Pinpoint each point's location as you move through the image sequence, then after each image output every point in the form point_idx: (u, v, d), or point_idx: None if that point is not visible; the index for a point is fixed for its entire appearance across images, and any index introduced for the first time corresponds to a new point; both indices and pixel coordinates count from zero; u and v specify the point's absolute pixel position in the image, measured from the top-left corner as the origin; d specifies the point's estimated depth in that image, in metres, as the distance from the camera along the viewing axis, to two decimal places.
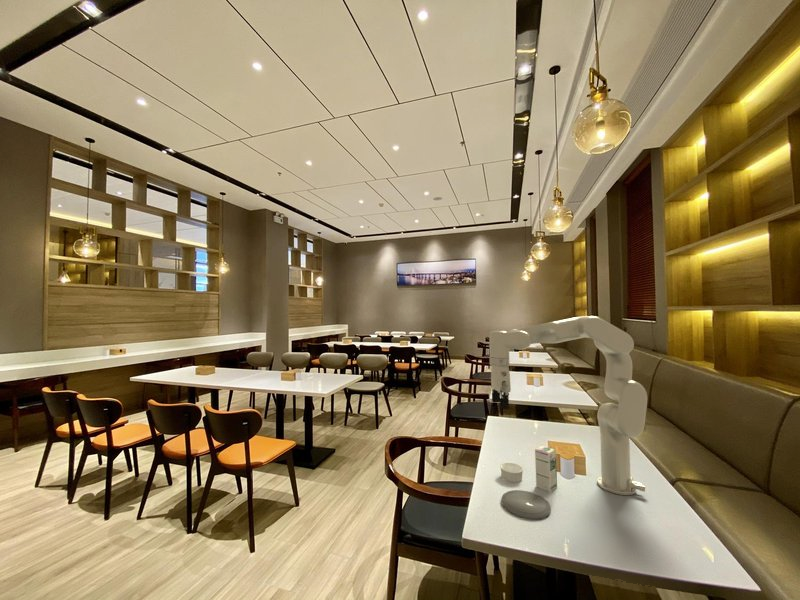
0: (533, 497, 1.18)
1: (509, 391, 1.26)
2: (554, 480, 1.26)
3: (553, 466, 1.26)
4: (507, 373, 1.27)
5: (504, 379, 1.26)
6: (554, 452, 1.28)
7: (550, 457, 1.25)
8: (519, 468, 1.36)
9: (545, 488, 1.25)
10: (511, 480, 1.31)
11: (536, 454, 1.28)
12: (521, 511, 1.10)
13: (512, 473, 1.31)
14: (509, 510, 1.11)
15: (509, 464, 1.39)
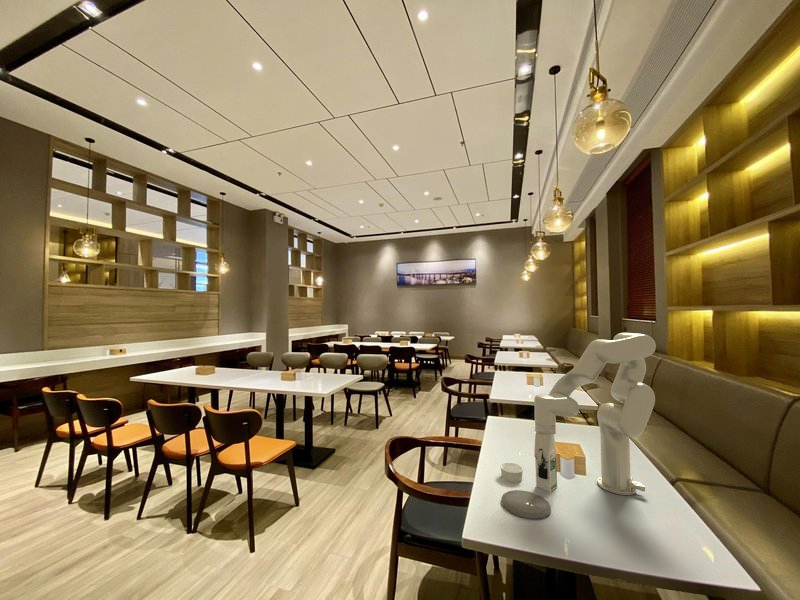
0: (533, 497, 1.18)
1: None
2: (554, 480, 1.26)
3: (553, 466, 1.26)
4: None
5: None
6: (554, 452, 1.28)
7: (550, 457, 1.25)
8: (519, 468, 1.36)
9: (545, 488, 1.25)
10: (511, 480, 1.31)
11: None
12: (521, 511, 1.10)
13: (512, 473, 1.31)
14: (509, 510, 1.11)
15: (509, 464, 1.39)
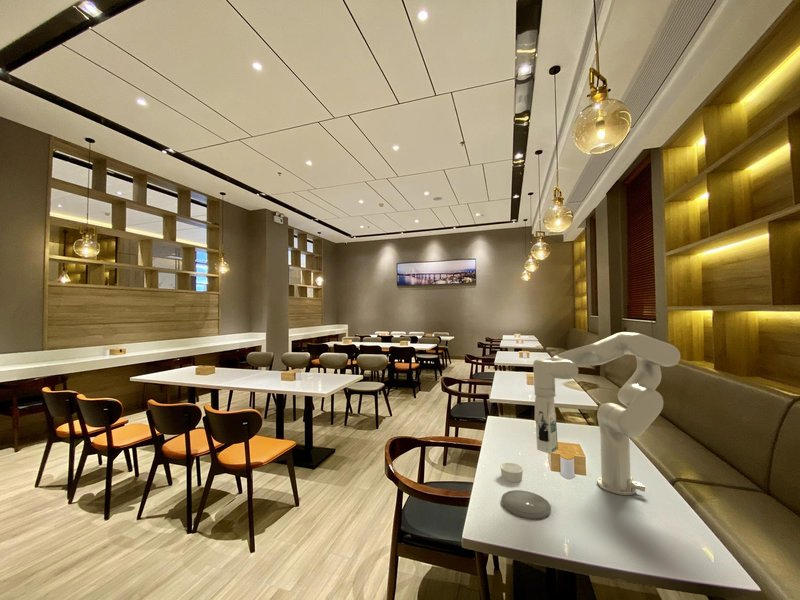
0: (533, 497, 1.18)
1: None
2: (554, 443, 1.27)
3: (554, 428, 1.27)
4: None
5: None
6: (554, 415, 1.28)
7: (550, 419, 1.26)
8: (519, 468, 1.36)
9: (546, 450, 1.26)
10: (511, 480, 1.31)
11: None
12: (521, 511, 1.10)
13: (512, 473, 1.31)
14: (509, 510, 1.11)
15: (509, 464, 1.39)
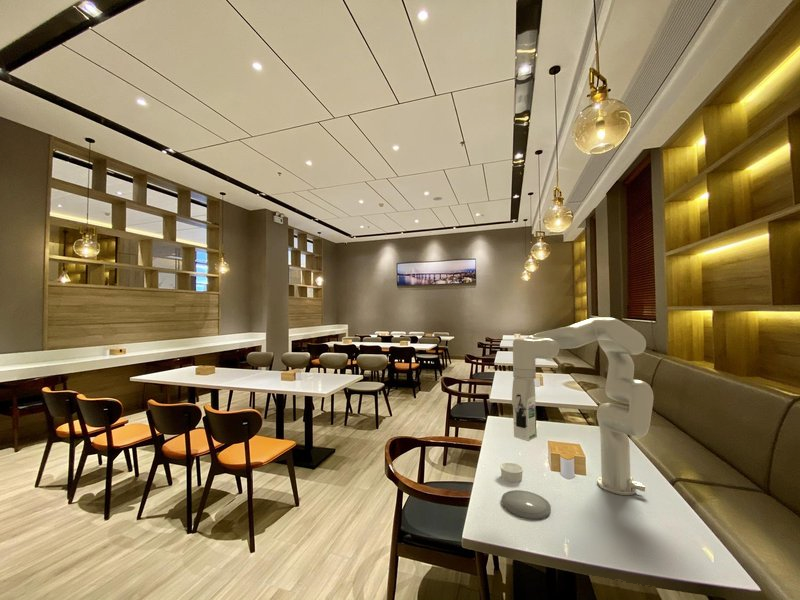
0: (533, 497, 1.18)
1: None
2: (533, 430, 1.15)
3: (532, 413, 1.15)
4: None
5: None
6: (534, 399, 1.17)
7: (528, 403, 1.14)
8: (519, 468, 1.36)
9: (523, 438, 1.14)
10: (511, 480, 1.31)
11: None
12: (521, 511, 1.10)
13: (512, 473, 1.31)
14: (509, 510, 1.11)
15: (509, 464, 1.39)
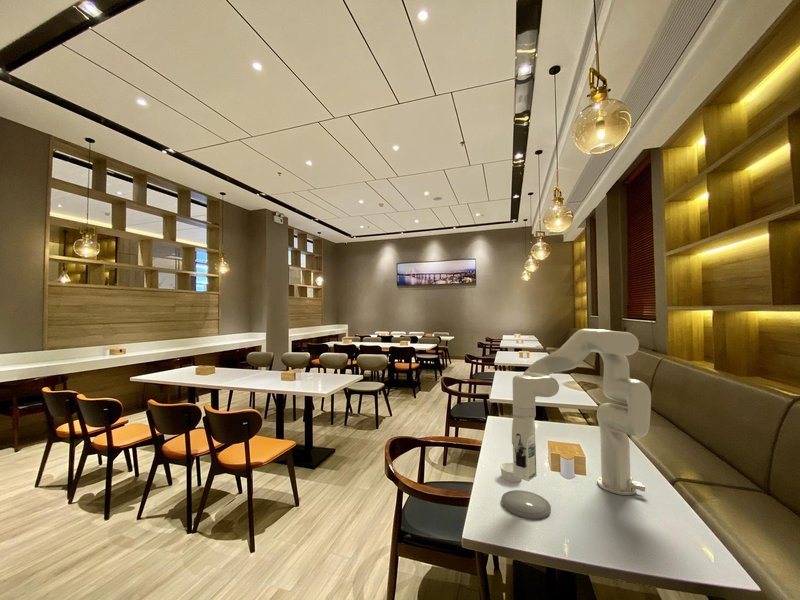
0: (533, 497, 1.18)
1: None
2: (533, 469, 1.14)
3: (532, 452, 1.14)
4: None
5: None
6: (534, 438, 1.15)
7: (528, 442, 1.13)
8: None
9: (523, 477, 1.13)
10: (511, 480, 1.31)
11: None
12: (521, 511, 1.10)
13: (512, 473, 1.31)
14: (509, 510, 1.11)
15: (509, 464, 1.39)
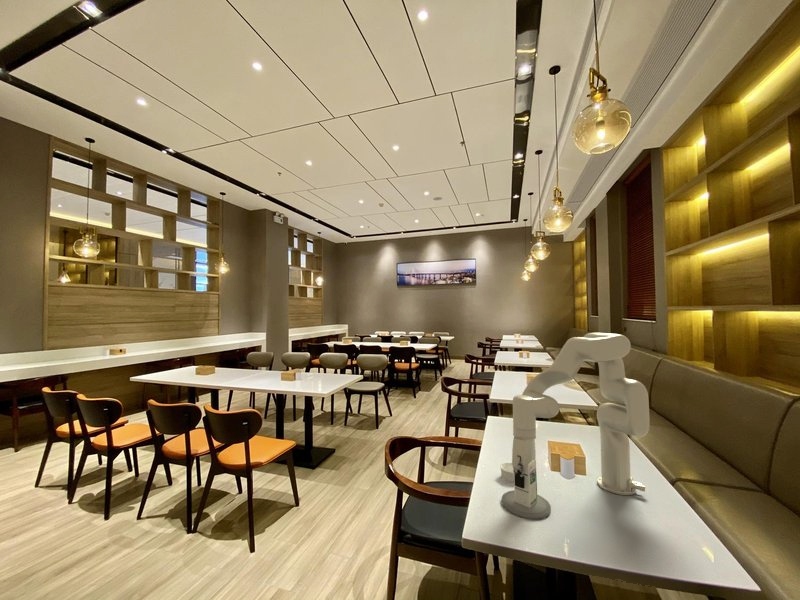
0: None
1: None
2: (534, 495, 1.13)
3: (533, 478, 1.14)
4: None
5: None
6: (534, 463, 1.15)
7: (529, 469, 1.12)
8: None
9: (524, 504, 1.13)
10: (511, 480, 1.31)
11: None
12: (521, 511, 1.10)
13: (512, 473, 1.31)
14: (509, 510, 1.11)
15: (509, 464, 1.39)
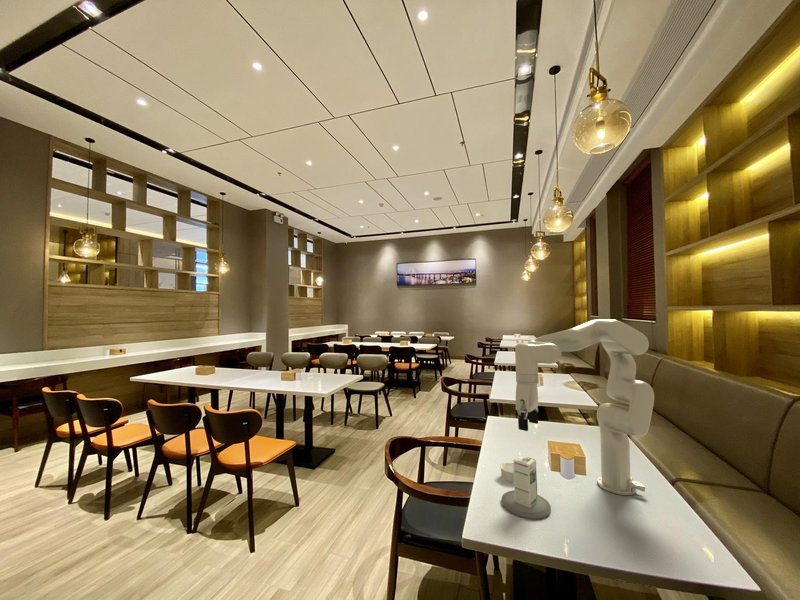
0: None
1: None
2: (534, 495, 1.13)
3: (533, 478, 1.14)
4: None
5: None
6: (535, 463, 1.15)
7: (529, 469, 1.12)
8: None
9: (524, 504, 1.13)
10: (511, 480, 1.31)
11: (515, 466, 1.16)
12: (521, 511, 1.10)
13: (512, 473, 1.31)
14: (509, 510, 1.11)
15: (509, 464, 1.39)
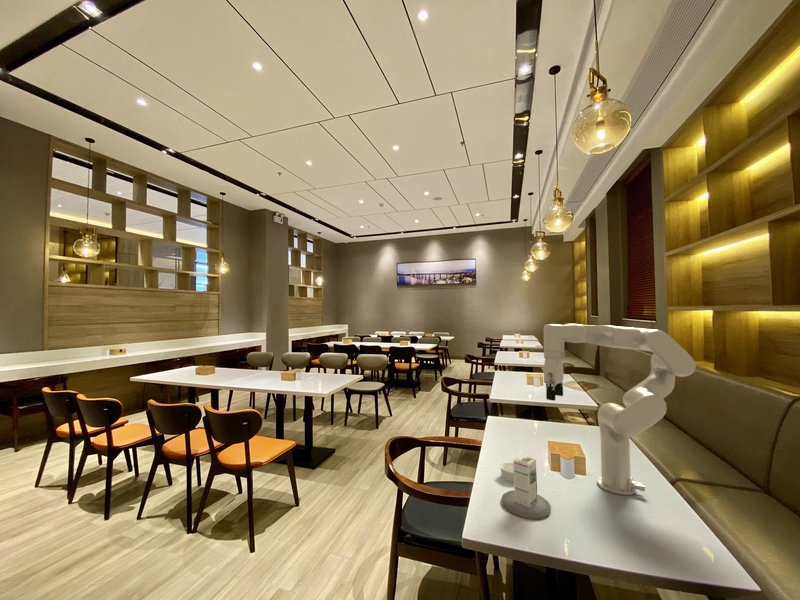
0: None
1: None
2: (534, 495, 1.13)
3: (533, 478, 1.14)
4: None
5: None
6: (535, 463, 1.15)
7: (529, 469, 1.12)
8: None
9: (524, 504, 1.13)
10: (511, 480, 1.31)
11: (515, 466, 1.16)
12: (521, 511, 1.10)
13: (512, 473, 1.31)
14: (509, 510, 1.11)
15: (509, 464, 1.39)
